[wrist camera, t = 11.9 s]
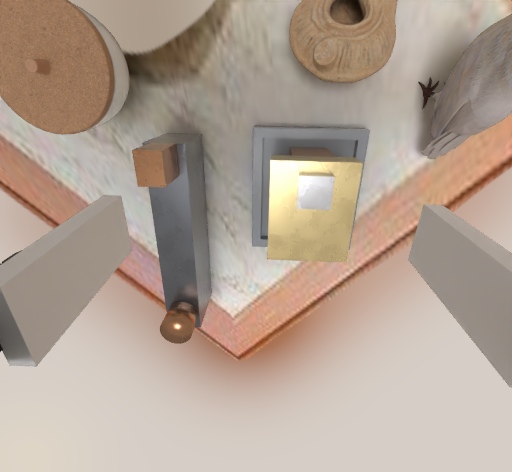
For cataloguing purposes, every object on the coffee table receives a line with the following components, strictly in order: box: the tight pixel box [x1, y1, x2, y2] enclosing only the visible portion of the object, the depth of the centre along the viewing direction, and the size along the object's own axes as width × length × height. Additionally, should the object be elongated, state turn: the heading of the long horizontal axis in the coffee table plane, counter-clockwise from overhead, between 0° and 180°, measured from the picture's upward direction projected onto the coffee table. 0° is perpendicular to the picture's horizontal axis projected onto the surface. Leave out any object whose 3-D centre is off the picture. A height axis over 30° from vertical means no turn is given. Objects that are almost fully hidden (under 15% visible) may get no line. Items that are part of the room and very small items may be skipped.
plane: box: [132, 133, 211, 343], centre depth 34 cm, size 22×4×11 cm, turn 179°
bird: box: [419, 14, 512, 159], centre depth 24 cm, size 5×14×15 cm, turn 178°
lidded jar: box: [0, 0, 129, 134], centre depth 28 cm, size 11×11×9 cm
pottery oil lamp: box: [289, 0, 397, 83], centre depth 25 cm, size 9×12×7 cm
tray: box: [252, 126, 370, 250], centre depth 33 cm, size 14×12×6 cm
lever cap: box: [267, 155, 363, 262], centre depth 29 cm, size 10×8×4 cm
